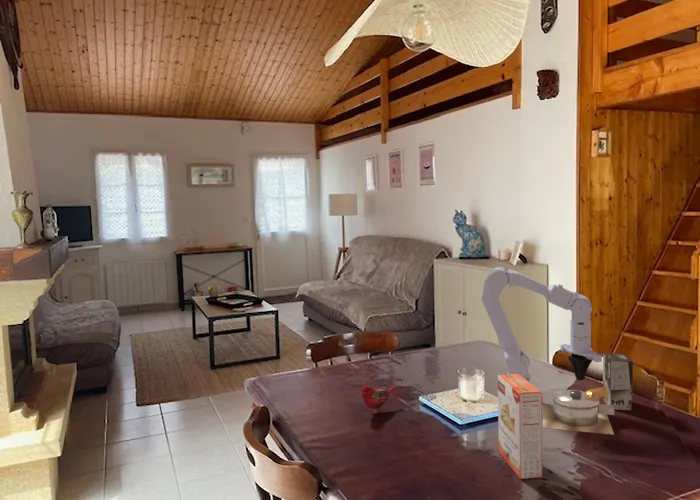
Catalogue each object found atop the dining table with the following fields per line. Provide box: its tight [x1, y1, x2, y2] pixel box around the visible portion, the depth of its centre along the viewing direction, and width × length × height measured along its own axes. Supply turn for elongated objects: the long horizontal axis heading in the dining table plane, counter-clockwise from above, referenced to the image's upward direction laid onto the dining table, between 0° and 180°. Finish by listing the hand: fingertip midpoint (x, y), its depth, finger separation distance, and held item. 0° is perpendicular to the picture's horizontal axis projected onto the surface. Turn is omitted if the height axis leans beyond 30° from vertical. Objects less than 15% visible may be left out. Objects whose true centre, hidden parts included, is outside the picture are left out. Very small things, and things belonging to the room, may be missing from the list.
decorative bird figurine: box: [360, 384, 398, 416], centre depth 169 cm, size 3×18×10 cm, turn 137°
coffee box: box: [602, 353, 634, 411], centre depth 167 cm, size 9×6×16 cm
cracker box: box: [497, 373, 544, 480], centre depth 132 cm, size 14×6×21 cm, turn 5°
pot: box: [552, 400, 615, 427], centre depth 157 cm, size 16×12×5 cm
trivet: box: [542, 404, 615, 436], centre depth 157 cm, size 18×18×1 cm
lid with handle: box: [551, 386, 607, 409], centre depth 158 cm, size 17×13×2 cm
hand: (580, 379), depth 166 cm, fingers closed
